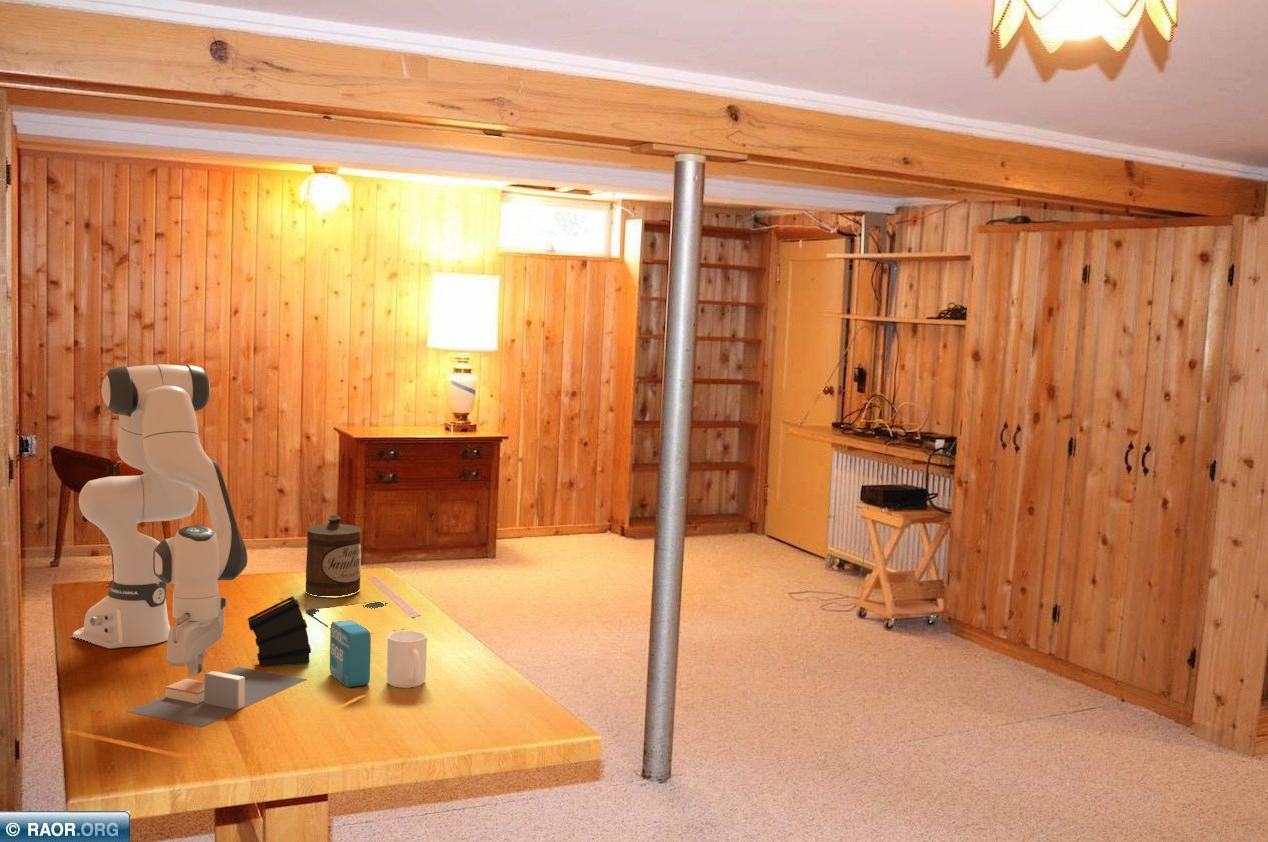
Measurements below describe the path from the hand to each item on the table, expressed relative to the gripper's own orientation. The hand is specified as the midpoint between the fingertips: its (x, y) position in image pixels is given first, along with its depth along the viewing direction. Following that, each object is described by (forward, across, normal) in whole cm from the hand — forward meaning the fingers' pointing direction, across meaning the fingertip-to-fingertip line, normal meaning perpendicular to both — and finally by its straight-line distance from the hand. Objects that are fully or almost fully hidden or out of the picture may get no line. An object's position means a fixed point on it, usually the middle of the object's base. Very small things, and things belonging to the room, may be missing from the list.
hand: (195, 674), depth 233 cm
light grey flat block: (+4, -5, -8) cm, 10 cm away
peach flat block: (+3, -4, +1) cm, 5 cm away
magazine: (+5, +24, -9) cm, 27 cm away
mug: (+5, +14, -41) cm, 43 cm away
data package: (+5, +16, -27) cm, 32 cm away
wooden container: (+5, +90, -2) cm, 90 cm away
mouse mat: (+6, +64, -18) cm, 67 cm away
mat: (+5, +1, -5) cm, 7 cm away
